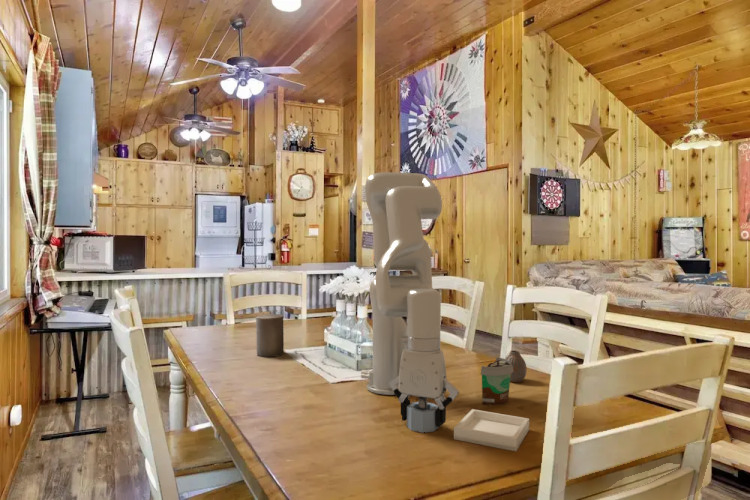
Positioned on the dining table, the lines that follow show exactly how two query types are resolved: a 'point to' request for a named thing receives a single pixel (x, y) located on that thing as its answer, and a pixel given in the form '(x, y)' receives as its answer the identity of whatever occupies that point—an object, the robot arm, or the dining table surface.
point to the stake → (422, 403)
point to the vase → (517, 366)
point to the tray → (492, 429)
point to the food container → (496, 382)
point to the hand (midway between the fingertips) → (422, 421)
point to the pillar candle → (269, 335)
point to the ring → (421, 418)
